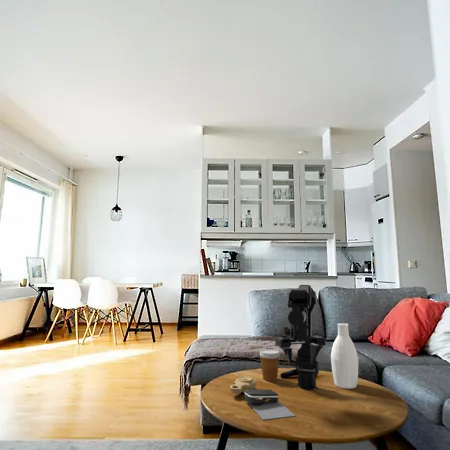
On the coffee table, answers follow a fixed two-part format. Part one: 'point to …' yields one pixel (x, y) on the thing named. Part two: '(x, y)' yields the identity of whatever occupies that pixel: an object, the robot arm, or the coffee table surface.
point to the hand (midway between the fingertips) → (301, 365)
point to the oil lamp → (243, 384)
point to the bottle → (344, 359)
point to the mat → (272, 410)
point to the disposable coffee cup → (269, 364)
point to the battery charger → (260, 396)
